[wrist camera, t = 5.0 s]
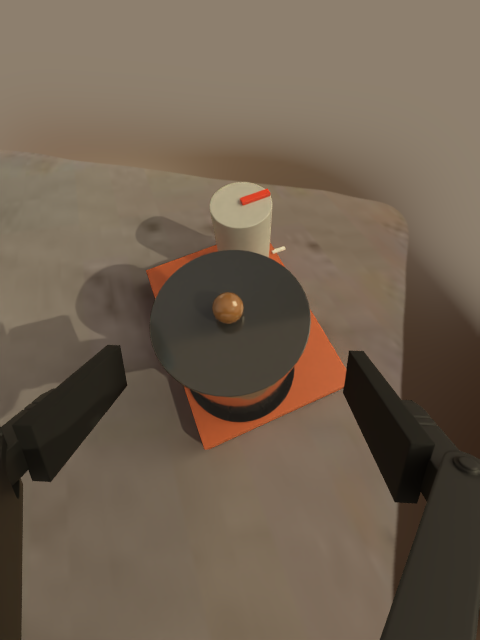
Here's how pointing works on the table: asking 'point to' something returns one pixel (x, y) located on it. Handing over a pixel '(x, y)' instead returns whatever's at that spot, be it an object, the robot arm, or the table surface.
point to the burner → (251, 415)
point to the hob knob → (242, 217)
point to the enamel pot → (231, 328)
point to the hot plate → (309, 376)
